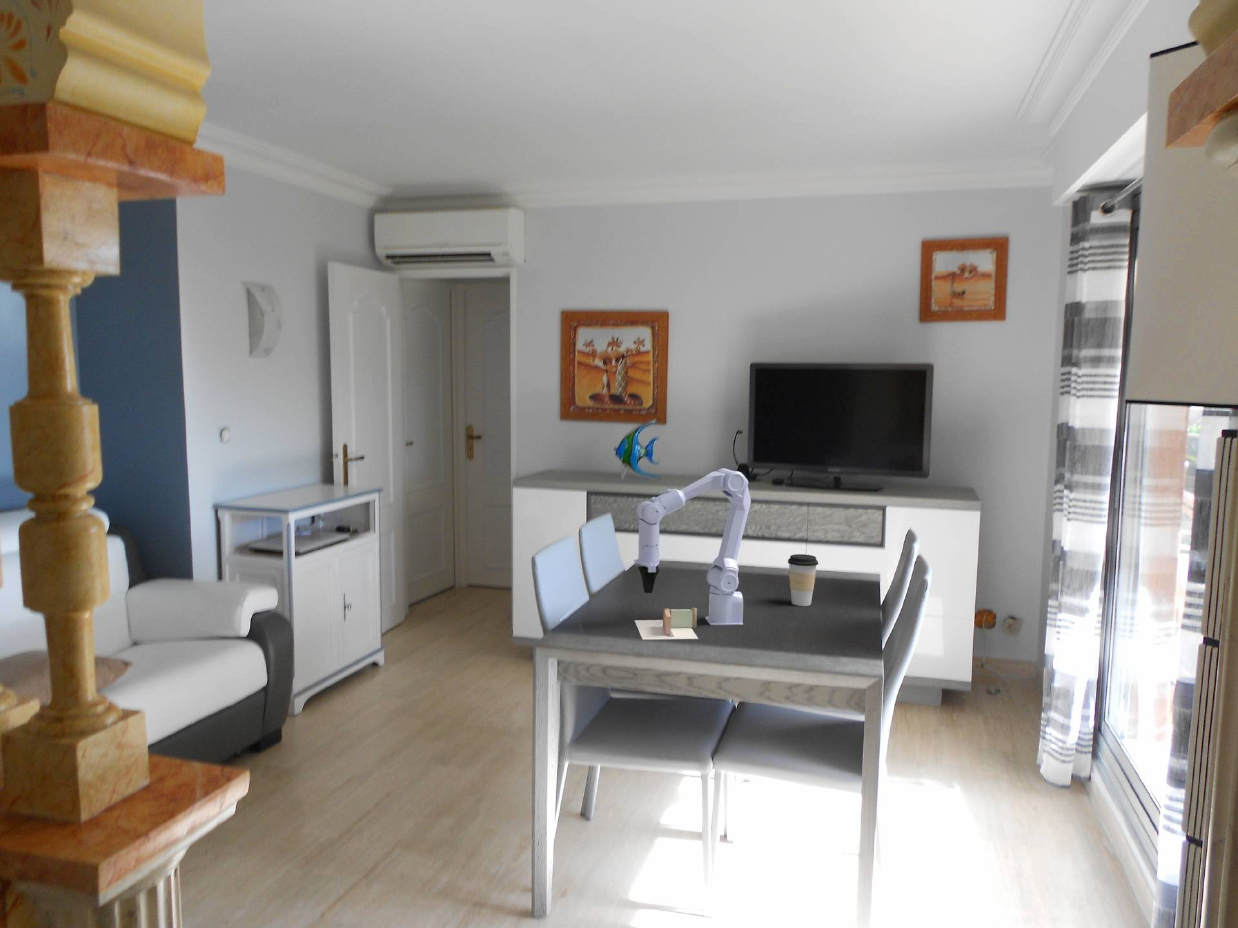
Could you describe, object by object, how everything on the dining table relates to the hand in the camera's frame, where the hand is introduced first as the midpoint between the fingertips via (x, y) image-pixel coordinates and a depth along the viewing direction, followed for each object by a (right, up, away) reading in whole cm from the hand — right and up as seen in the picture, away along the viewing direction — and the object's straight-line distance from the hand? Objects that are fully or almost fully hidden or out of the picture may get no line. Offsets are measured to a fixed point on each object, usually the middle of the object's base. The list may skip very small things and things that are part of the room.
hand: (648, 592), depth 246 cm
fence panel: (+5, -10, -4) cm, 12 cm away
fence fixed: (+10, -10, 0) cm, 14 cm away
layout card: (+5, -10, -2) cm, 11 cm away
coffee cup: (+49, -8, +30) cm, 58 cm away
